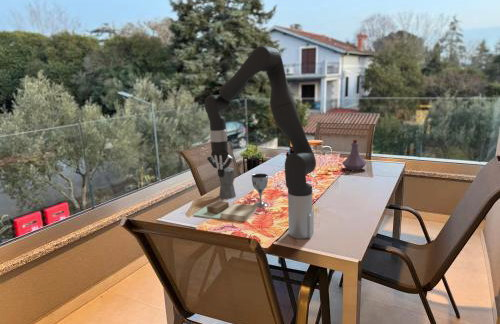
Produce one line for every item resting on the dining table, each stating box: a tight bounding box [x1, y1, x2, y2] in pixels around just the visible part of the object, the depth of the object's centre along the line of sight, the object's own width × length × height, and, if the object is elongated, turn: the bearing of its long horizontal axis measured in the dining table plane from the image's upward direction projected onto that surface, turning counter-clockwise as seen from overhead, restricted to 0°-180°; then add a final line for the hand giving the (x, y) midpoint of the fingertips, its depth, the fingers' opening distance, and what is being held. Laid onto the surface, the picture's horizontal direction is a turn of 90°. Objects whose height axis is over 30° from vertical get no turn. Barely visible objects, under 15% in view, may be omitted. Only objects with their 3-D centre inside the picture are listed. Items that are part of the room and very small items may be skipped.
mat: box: [192, 202, 231, 220], centre depth 160 cm, size 14×16×1 cm
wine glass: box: [251, 173, 269, 208], centre depth 165 cm, size 8×8×15 cm
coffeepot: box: [218, 166, 237, 200], centre depth 181 cm, size 15×9×18 cm, turn 33°
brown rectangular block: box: [206, 200, 229, 214], centre depth 160 cm, size 6×9×3 cm, turn 147°
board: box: [220, 202, 258, 222], centre depth 155 cm, size 12×14×2 cm
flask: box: [341, 139, 368, 172], centre depth 223 cm, size 16×16×20 cm
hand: (221, 176), depth 154 cm, fingers closed
